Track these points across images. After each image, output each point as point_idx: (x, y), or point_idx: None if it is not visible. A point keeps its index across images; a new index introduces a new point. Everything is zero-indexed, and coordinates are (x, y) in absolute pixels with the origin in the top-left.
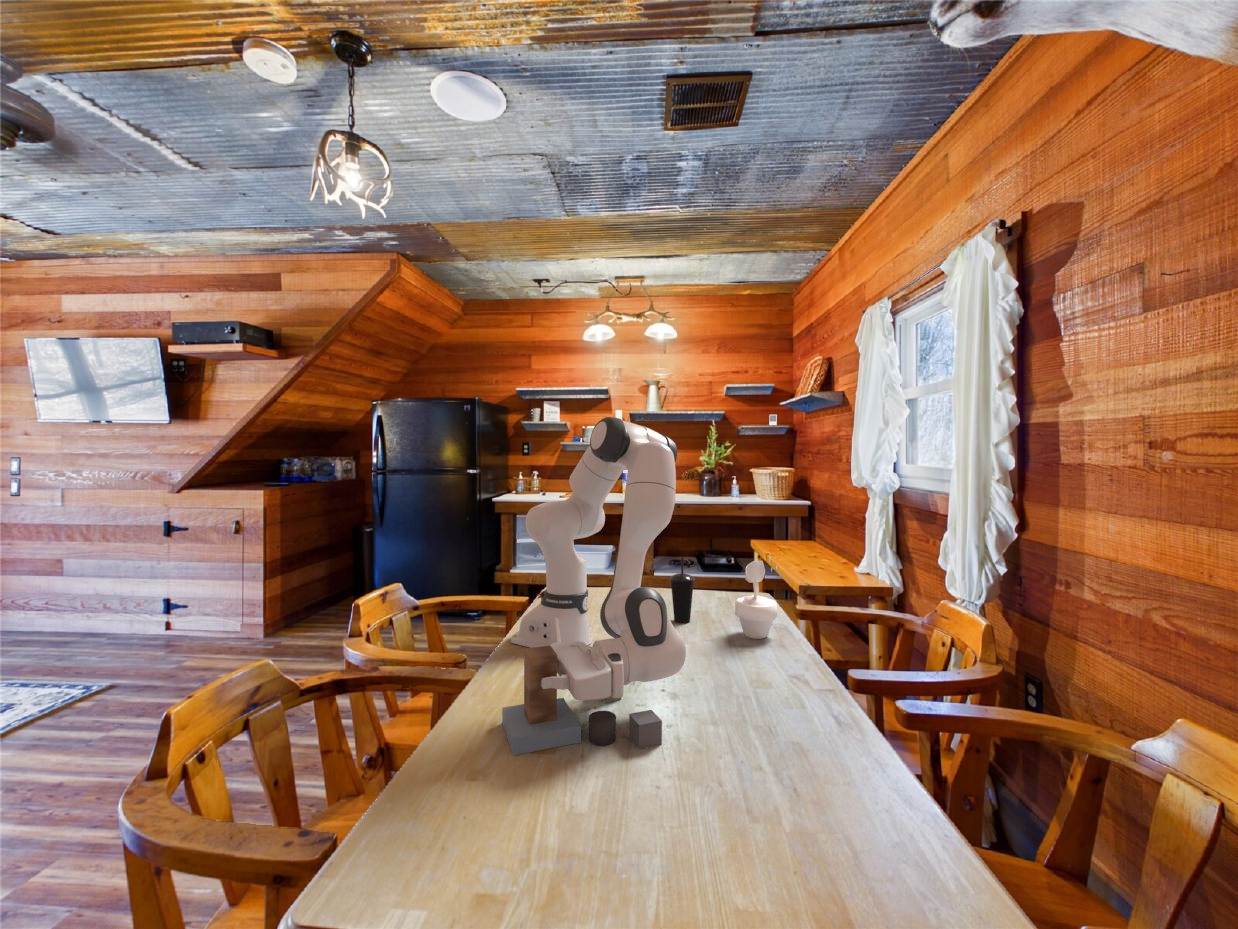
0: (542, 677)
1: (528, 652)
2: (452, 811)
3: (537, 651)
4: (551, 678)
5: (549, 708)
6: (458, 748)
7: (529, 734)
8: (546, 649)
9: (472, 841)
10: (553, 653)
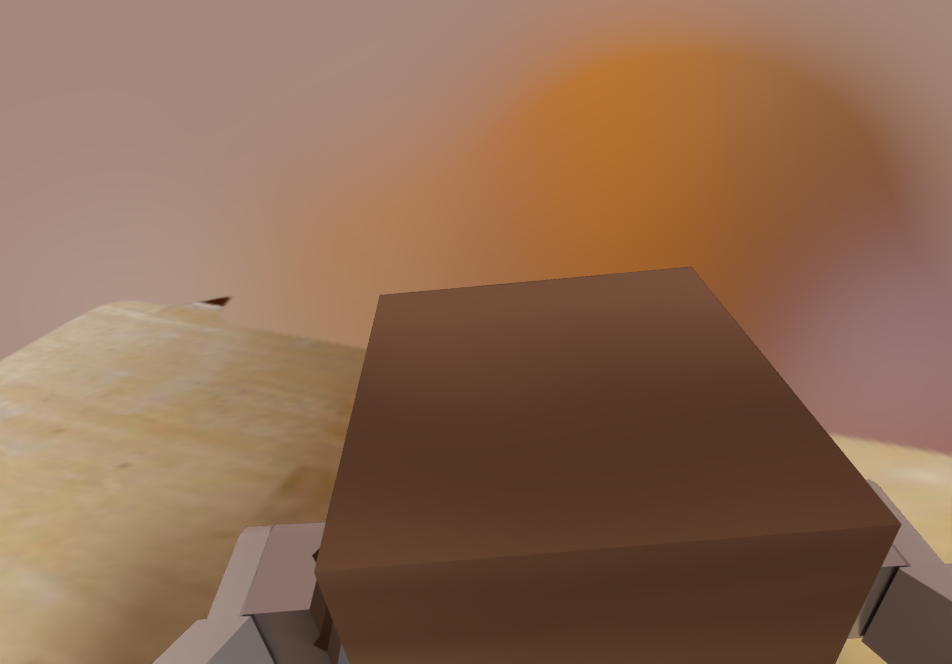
0: (293, 526)
1: (557, 288)
2: (175, 441)
3: (569, 347)
4: (209, 616)
5: None
6: None
7: (338, 660)
8: (647, 442)
9: (11, 481)
10: (407, 519)
